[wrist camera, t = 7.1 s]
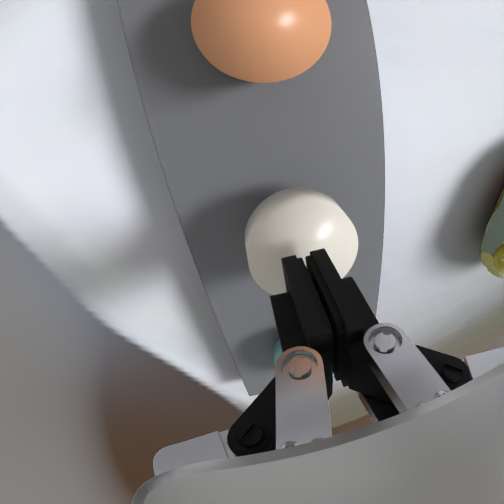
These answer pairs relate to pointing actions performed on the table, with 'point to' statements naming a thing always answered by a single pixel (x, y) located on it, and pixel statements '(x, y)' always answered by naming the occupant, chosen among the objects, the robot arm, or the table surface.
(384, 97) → the table surface
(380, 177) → the button panel
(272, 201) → the button ivory
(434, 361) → the robot arm
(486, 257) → the cell model
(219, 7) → the button terracotta
